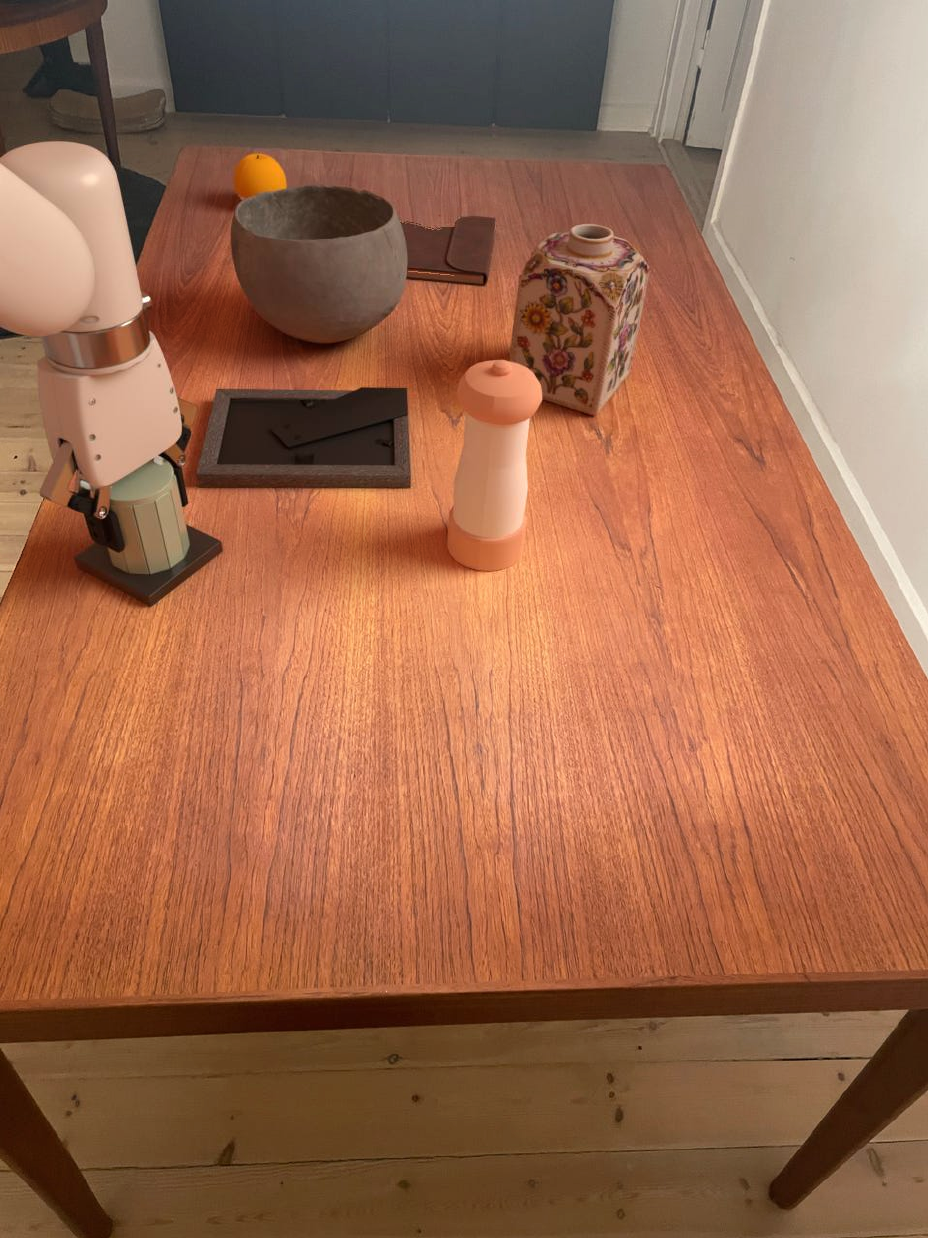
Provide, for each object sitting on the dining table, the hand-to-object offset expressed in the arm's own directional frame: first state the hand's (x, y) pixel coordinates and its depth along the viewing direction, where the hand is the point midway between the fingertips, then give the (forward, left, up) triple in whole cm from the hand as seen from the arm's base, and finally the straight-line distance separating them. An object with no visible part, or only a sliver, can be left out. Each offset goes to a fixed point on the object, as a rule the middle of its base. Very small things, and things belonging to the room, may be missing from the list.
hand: (142, 521), depth 79 cm
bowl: (+44, +14, -5) cm, 46 cm away
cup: (0, +1, -3) cm, 3 cm away
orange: (+70, +46, -5) cm, 84 cm away
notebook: (+73, +15, -5) cm, 75 cm away
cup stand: (0, 0, -4) cm, 4 cm away
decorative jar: (+51, -17, -5) cm, 54 cm away
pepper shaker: (+19, -24, -5) cm, 31 cm away
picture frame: (+23, 0, -5) cm, 23 cm away
